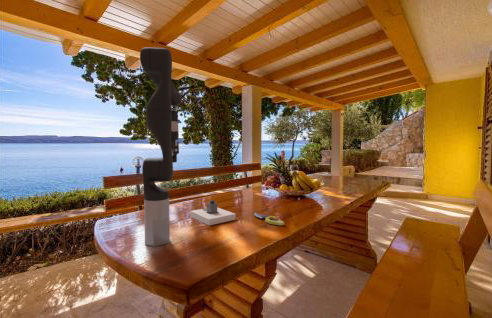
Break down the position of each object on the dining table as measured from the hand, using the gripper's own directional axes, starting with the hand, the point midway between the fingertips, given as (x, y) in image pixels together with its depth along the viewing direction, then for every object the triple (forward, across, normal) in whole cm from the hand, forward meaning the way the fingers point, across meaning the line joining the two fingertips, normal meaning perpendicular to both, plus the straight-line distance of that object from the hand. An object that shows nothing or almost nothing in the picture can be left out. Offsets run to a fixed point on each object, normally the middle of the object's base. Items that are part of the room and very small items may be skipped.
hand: (171, 162), depth 123 cm
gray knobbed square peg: (+30, +11, +18) cm, 37 cm away
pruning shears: (+31, +31, +39) cm, 59 cm away
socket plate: (+30, +11, +18) cm, 37 cm away
